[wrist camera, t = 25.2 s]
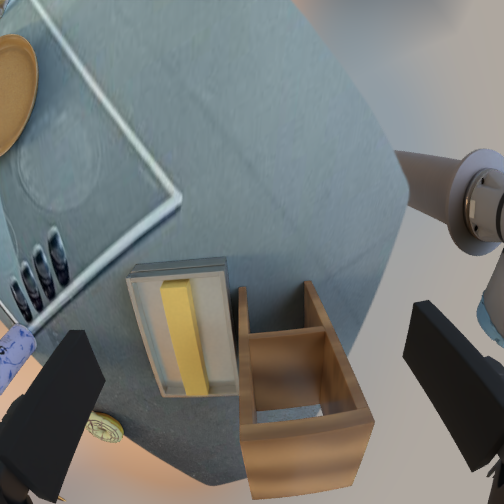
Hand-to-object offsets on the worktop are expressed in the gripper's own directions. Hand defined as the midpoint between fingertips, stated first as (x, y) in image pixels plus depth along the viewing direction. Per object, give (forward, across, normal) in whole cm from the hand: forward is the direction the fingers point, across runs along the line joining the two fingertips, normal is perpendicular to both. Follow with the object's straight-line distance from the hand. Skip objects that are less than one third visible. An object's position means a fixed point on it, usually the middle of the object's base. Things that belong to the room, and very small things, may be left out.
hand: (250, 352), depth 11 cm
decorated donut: (+37, -40, -52) cm, 75 cm away
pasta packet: (+33, -11, -22) cm, 42 cm away
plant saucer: (+37, -43, +25) cm, 62 cm away
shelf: (+37, +4, -22) cm, 43 cm away
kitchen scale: (+37, -11, -22) cm, 44 cm away
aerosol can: (+37, -52, -26) cm, 69 cm away
